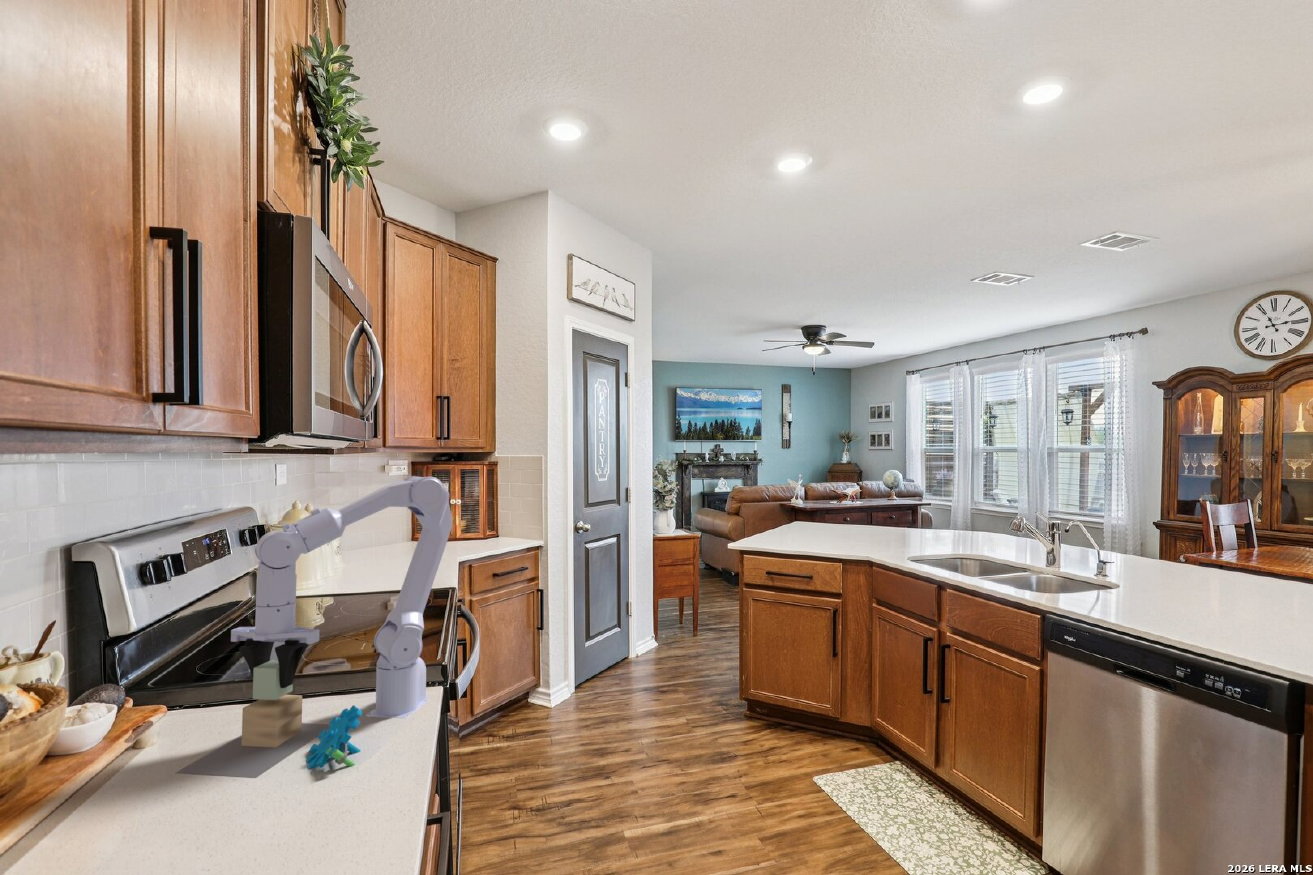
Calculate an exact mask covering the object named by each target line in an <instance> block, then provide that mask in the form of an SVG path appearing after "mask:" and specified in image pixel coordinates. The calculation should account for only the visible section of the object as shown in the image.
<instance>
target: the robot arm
mask: <svg viewBox="0 0 1313 875" xmlns="http://www.w3.org/2000/svg"><path fill="white" fill-rule="evenodd" d="M449 500H450V492H449V491H448V490H447V488H446V486H444V484H443V482H442V481H441V480H439V479H438V478H437V477H434V476H424V477H423V476H419V475H412V476H411V475H410V476H408V477H406V478H404V479H403V480H398V481H397V480H396V481H394V482H392V483H389V484H386V485H384V486H382V487H380V488H379V489H377V490H375V491H373V492H371V493H368V494H367V495H365V496H363V497H360V498H359V499H357V500H356V501H355V500H354V501H353V502H350V503H349V504H346V505H345V506H343V507H341V508H340V509H338V510H335V509H332V508H328V507H325V508H323V509H320V508H318V507H316V508H315V509H312V510H310V514H309V515H307V516H305V517H303V518H301V519H299V520H297V521H294V522H292V523H288V522H285V523H284V524H282V525H281V528H282V530H271V531H269V532H267V533H265V534H264V535H262V536H261V537H260V539H259V540H258V541H257V543H256V547H254V554H255V555H256V558H257V559H258V560H259V561H258V566H257V577H256V586H255V588H256V589H255V590H256V592H255V626H238V627H236V628H233V629H231V630H230V642H235V643H236V642H240V641H241V642H242V641H245V643H244V645H243V644H242V645H241V646H239V648H238V649H239V650H238V651H239V653H240V654H241V655H242V657H243V658H244V660H245V661H246V663H247V665H248V668H249V670H250V674H251V677H252V678H253V672H254V668H255V667H257V666H259V665H262V664H264V663H266V662H268V661H271V656H272V651H273V648H274V652H275V654H276V656H277V660H278V662H279V681H280V687H281V688H286V687H288V686H290V685H292V684H293V683H294V680H295V675H296V672H297V669H298V666H299V664H300V662H301V660H302V657H303V655H304V653H305V652H306V650H307V648H308V646H309V645H313V644H316V643H317V642H319V641H320V629H316V628H307V627H304V626H297V625H296V617H297V616H296V614H297V613H296V610H297V608H296V607H297V606H296V605H297V577H298V576H297V573H296V572H297V571H296V567H297V564H296V562H297V561H298V560H299V559H300V557H301V555H302V554H303V555H306V554H309V553H310V552H312V551H315V550H316V549H318V548H320V547H322V546H325V545H326V544H329V543H331V542H333V541H335V540H337V539H339V538H340V537H342V535H343V533H344V531H345V529H346V527H347V526H349V525H351V524H354V523H356V522H358V521H360V520H362V519H365V518H367V517H369V516H372V515H375V514H376V513H379V512H380V511H383V510H385V509H388V508H391V507H394V508H397V507H398V508H406V509H408V510H410V511H411V512H412V513H413V515H414V516H415V517H416V519H417V520H418V522H419V524H420V525H421V528H422V529H421V531H420V533H419V536H418V539H417V544H416V546H415V549H414V551H413V555H412V558H411V560H410V563H409V565H408V569H407V571H406V575H405V577H404V581H403V584H402V586H401V589H400V592H399V595H398V597H397V599H396V600H397V601H396V603H395V606H394V608H393V609H392V610H391V611H390V612H389V613H388V614H387V617H386V620H385V621H384V624H383V625H381V627H380V628H379V629H378V630H377V632H376V633H375V636H374V639H373V644H374V645H373V646H374V648H375V650H376V651H377V652H378V653H379V657H378V659H377V660H376V670H375V671H376V674H375V675H376V677H375V678H376V679H375V680H376V682H375V683H376V684H375V708H373V709H372V710H371V711H369V712H368V713H367V714H365V717H369V718H370V717H372V718H390V719H391V718H392V719H407V718H408V717H410V716H411V715H412V714H414V712H416V711H417V710H418V709H419V708H421V707H422V706H423V705H425V704H426V703H427V702H428V701H429V700H430V699H431V698H430V697H427V667H426V663H425V661H424V660H423V659H422V658H421V657H420V656H421V654H422V651H423V639H422V638H423V632H424V630H425V623H424V617H423V616H424V611H425V609H426V605H427V603H428V599H429V597H430V593H431V591H432V587H433V584H434V582H435V579H436V575H437V573H438V570H439V567H440V564H441V561H442V559H443V558H442V557H443V554H444V552H445V548H446V546H447V543H448V540H449V537H450V535H451V531H452V527H453V519H452V518H453V517H452V513H451V508H450V502H449ZM275 642H276V643H283V644H281V645H278V646H276V647H274V644H275ZM293 685H294V684H293Z"/></svg>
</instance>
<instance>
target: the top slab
mask: <svg viewBox="0 0 1313 875" xmlns="http://www.w3.org/2000/svg"><path fill="white" fill-rule="evenodd" d="M300 714H302V715H303V695H299V694H297V695H296V694H286V695H284V696H282V697H280V698H278V699H276V700H265V699H256V701H253V702H251V703H250V704H247V705H246V706H244V707H242V717H241V718H242V721H241V723H242V724H241V728H242V727H256V728H278V727H280V726H281V725H283V724H285V723H286V722H288V721H290V720H292V719H293V718H295V717H297V716H298V715H300Z"/></svg>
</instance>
